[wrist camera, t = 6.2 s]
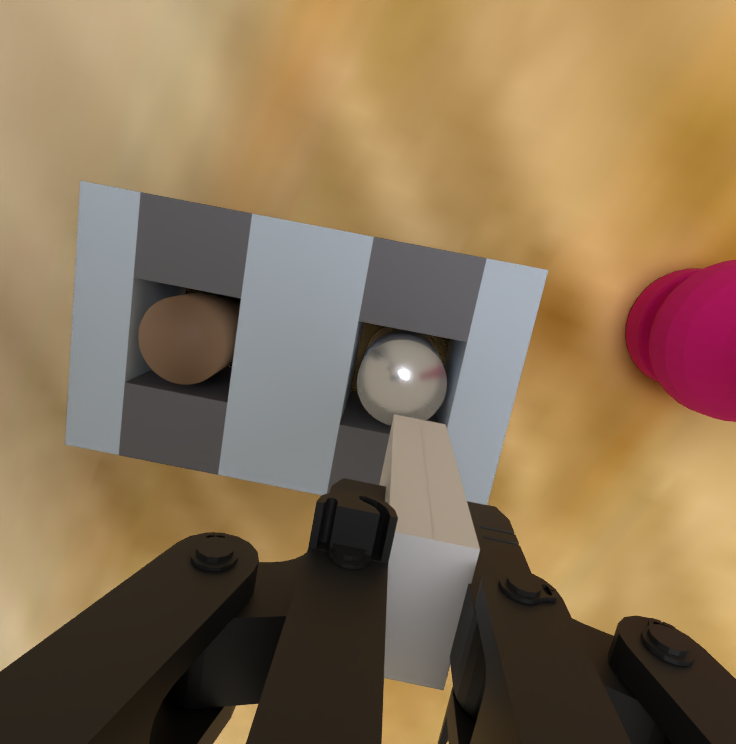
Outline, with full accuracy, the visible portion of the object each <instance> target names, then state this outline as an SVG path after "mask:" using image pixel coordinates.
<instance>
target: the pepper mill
mask: <svg viewBox="0 0 736 744" xmlns="http://www.w3.org/2000/svg"><path fill="white" fill-rule="evenodd" d="M626 343H627V347H628V350H629V353H630V356H631V358H632V360H633V362H634V363H635V364H636V366H637V367H638V368H639V369H640V370H641V371H642V372H643V373H644V374H645V375H647V376H648V377H650V378H651V379H653V380H655V381H657V382H659V383H660V384H661V386H662V387H663V388H664V389H665V391H666V392H667V393H668V394H669V395H670V396H672V397H673V398H674V399H675V400H676V401H677V402H678V403H680V404H682V405H683V406H685V407H687V408H688V409H691V410H693V411H696V412H698V413H701V414H704V415H707V416H709V417H712V418H716V419H720V420H724V421H733V422H736V260H731V261H725V262H721V263H718V264H715V265H712V266H708V267H706V268H704V269H684V270H679V271H675V272H673V273H670V274H668V275H665V276H663V277H661V278H659V279H658V280H656V281H655V282H653V283H652V284H651V285H650V286H648V287H647V288H646V289H645V290H644V291H643V293H642V294H641V295H640V296H639V297H638V299H637V300H636V302H635V304H634V306H633V307H632V309H631V311H630V314H629V317H628V320H627V326H626Z"/></svg>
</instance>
